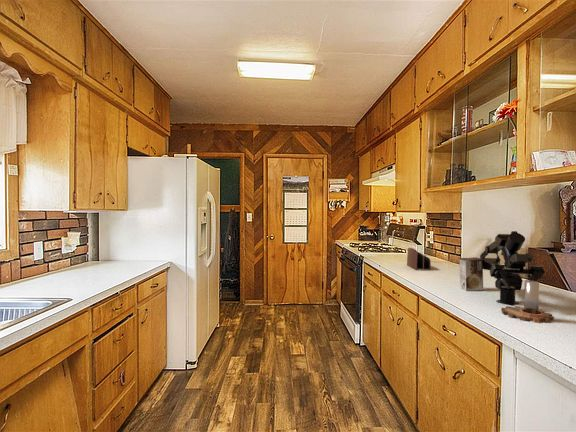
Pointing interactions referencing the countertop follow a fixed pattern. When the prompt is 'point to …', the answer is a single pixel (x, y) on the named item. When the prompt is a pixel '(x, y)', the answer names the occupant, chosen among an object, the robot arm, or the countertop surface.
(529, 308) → the drive pin
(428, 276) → the countertop surface
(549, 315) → the sprocket
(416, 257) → the letter holder
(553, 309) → the countertop surface
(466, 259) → the coffee box
